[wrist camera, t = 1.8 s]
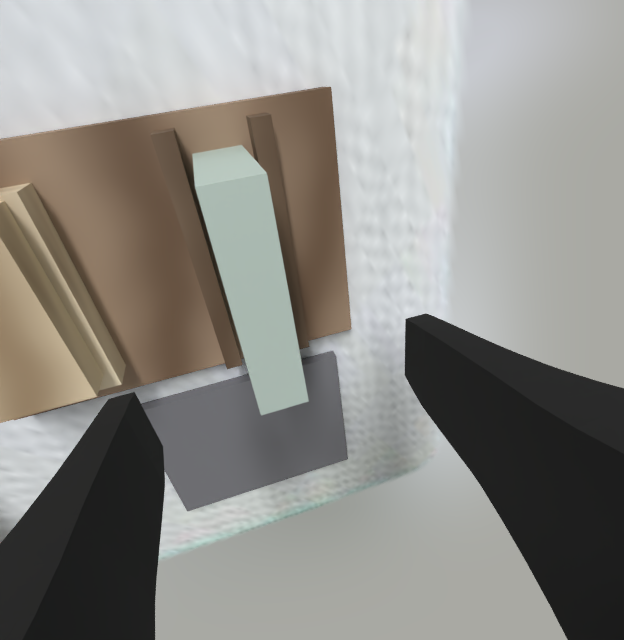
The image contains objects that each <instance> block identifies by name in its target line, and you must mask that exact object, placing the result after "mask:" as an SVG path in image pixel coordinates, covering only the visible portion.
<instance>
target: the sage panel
mask: <svg viewBox="0 0 624 640" xmlns="http://www.w3.org/2000/svg"><path fill="white" fill-rule="evenodd" d="M192 155H193V168H194V181H195V189H196V192H197V196H198V199H199V203H200V206H201V210H202V213H203V217H204V220H205V224H206V227H207V230H208V234H209V237H210V241H211V244H212V248H213V251H214V255H215V258H216V262H217V265H218V269H219V272H220V275H221V279H222V282H223V286H224V289H225V293H226V296H227V300H228V303H229V307H230V310H231V314H232V317H233V320H234V324H235V327H236V331H237V334H238V338H239V341H240V345H241V348H242V352H243V355H244V359H245V362H246V365H247V369H248V372H249V376H250V379H251V383H252V386H253V390H254V393H255V397H256V400H257V404H258V407H259V410H260V414H261V415H265V414H268V413H271V412H275V411H278V410H281V409H285V408H288V407H292V406H295V405H298V404H302V403H305V402H308V401H309V400H308V395H307V389H306V384H305V378H304V373H303V367H302V362H301V356H300V351H299V345H298V340H297V334H296V329H295V324H294V318H293V313H292V307H291V302H290V296H289V291H288V285H287V280H286V274H285V269H284V263H283V258H282V253H281V247H280V242H279V236H278V231H277V225H276V220H275V214H274V209H273V203H272V198H271V192H270V187H269V181H268V176H267V173H266V171H265V170H264V169H263V168H262V167H261V166H260V165H259V164H258V162H257V161H256V160H255V159H254V158H253V157H252V156H251V155H250V154H249V152H248V151H247V150H246V149H245V148H244V147H243V146H242V145H238V146H232V147H227V148H221V149H216V150H210V151H205V152H199V153H194V154H192Z"/></svg>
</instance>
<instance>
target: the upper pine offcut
mask: <svg viewBox="0 0 624 640" xmlns="http://www.w3.org/2000/svg"><path fill="white" fill-rule="evenodd" d="M102 378H103V373H102V371H101V369H100V368H99V366H98V364H97V362H96V361H95V359H94V357H93V355H92V354H91V352H90V350H89V348H88V347H87V345H86V343H85V341H84V340H83V338H82V336H81V334H80V333H79V331H78V329H77V327H76V326H75V324H74V322H73V320H72V319H71V317H70V315H69V313H68V312H67V310H66V308H65V306H64V305H63V303H62V301H61V299H60V298H59V296H58V294H57V292H56V291H55V289H54V287H53V285H52V284H51V282H50V280H49V278H48V277H47V275H46V273H45V271H44V270H43V268H42V266H41V264H40V263H39V261H38V259H37V257H36V256H35V254H34V252H33V250H32V249H31V247H30V245H29V243H28V242H27V240H26V238H25V236H24V235H23V233H22V231H21V229H20V228H19V226H18V224H17V222H16V221H15V219H14V217H13V215H12V214H11V212H10V210H9V208H8V207H7V205H6V203H5V201H1V202H0V423H2V422H6V421H9V420H13V419H17V418H20V417H24V416H28V415H31V414H35V413H39V412H43V411H46V410H50V409H54V408H57V407H61V406H65V405H68V404H72V403H76V402H80V401H83V400H87V399H91V398H94V397H97V396H98V392H99V389H100V385H101V382H102Z"/></svg>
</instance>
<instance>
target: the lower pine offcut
mask: <svg viewBox="0 0 624 640" xmlns="http://www.w3.org/2000/svg"><path fill="white" fill-rule="evenodd" d="M1 201H5V203H6V205H7V207H8V208H9V210H10V212H11V214H12V215H13V217H14V219H15V221H16V222H17V224H18V226H19V228H20V229H21V231H22V233H23V235H24V236H25V238H26V240H27V242H28V243H29V245H30V247H31V249H32V250H33V252H34V254H35V256H36V257H37V259H38V261H39V263H40V264H41V266H42V268H43V270H44V271H45V273H46V275H47V277H48V278H49V280H50V282H51V284H52V285H53V287H54V289H55V291H56V292H57V294H58V296H59V298H60V299H61V301H62V303H63V305H64V306H65V308H66V310H67V312H68V313H69V315H70V317H71V319H72V320H73V322H74V324H75V326H76V327H77V329H78V331H79V333H80V334H81V336H82V338H83V340H84V341H85V343H86V345H87V347H88V348H89V350H90V352H91V354H92V355H93V357H94V359H95V361H96V362H97V364H98V366H99V368H100V369H101V371H102V373H103V378H102V382H101V385H100V389H99V390H103V389H107V388H111V387H114V386H118V385H122V381H123V377H124V372H125V367H126V364H125V363H124V361H123V359H122V357H121V355H120V353H119V351H118V349H117V347H116V345H115V343H114V341H113V339H112V337H111V336H110V334H109V332H108V330H107V328H106V326H105V324H104V322H103V320H102V318H101V316H100V314H99V312H98V310H97V308H96V307H95V305H94V303H93V301H92V299H91V297H90V295H89V293H88V291H87V289H86V287H85V285H84V283H83V281H82V280H81V278H80V276H79V274H78V272H77V270H76V268H75V266H74V264H73V262H72V260H71V258H70V256H69V254H68V253H67V251H66V249H65V247H64V245H63V243H62V241H61V239H60V237H59V235H58V233H57V231H56V229H55V227H54V226H53V224H52V222H51V220H50V218H49V216H48V214H47V212H46V210H45V208H44V206H43V204H42V202H41V200H40V198H39V197H38V195H37V193H36V191H35V189H34V187H33V185H32V183H27V184H22V185H16V186H11V187H5V188H0V202H1Z"/></svg>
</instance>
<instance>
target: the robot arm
mask: <svg viewBox="0 0 624 640" xmlns="http://www.w3.org/2000/svg"><path fill="white" fill-rule="evenodd" d="M405 376H406V378H407V380H408V382H409V384H410V386H411V387H412V389H413V391H414V393H415V395H416V396H417V398H418V400H419V401H420V403H421V405H422V406H423V408H424V409H425V410H426V412H427V413H428V415H429V416H430V417H431V419H432V420H433V421H434V423H435V424H436V425H437V427H438V428H439V429H440V431H441V432H442V433H443V435H444V436H445V437H446V439H447V440H448V441H449V443H450V444H451V445H452V447H453V448H454V449H455V451H456V452H457V453H458V455H459V456H460V457H461V459H462V460H463V461H464V462H465V464H466V465H467V467H468V468H469V469H470V471H471V472H472V473H473V475H474V476H475V478H476V479H477V480H478V482H479V484H480V485H481V486H482V488H483V490H484V491H485V493H486V495H487V496H488V498H489V499H490V501H491V503H492V504H493V506H494V508H495V509H496V511H497V513H498V514H499V516H500V517H501V519H502V521H503V522H504V524H505V526H506V528H507V529H508V531H509V533H510V535H511V536H512V538H513V540H514V541H515V543H516V545H517V547H518V548H519V550H520V552H521V553H522V555H523V557H524V559H525V560H526V562H527V564H528V566H529V568H530V570H531V571H532V573H533V575H534V577H535V579H536V580H537V582H538V584H539V586H540V588H541V590H542V591H543V593H544V595H545V597H546V599H547V601H548V602H549V604H550V606H551V608H552V610H553V612H554V614H555V616H556V618H557V620H558V622H559V624H560V626H561V627H562V629H563V631H564V633H565V635H566V637H567V639H568V640H624V388H620V387H616V386H613V385H609V384H606V383H602V382H599V381H595V380H592V379H589V378H586V377H583V376H579V375H576V374H573V373H570V372H567V371H564V370H561V369H558V368H555V367H552V366H549V365H546V364H543V363H541V362H538V361H536V360H533V359H531V358H528V357H526V356H523V355H520V354H518V353H515V352H513V351H511V350H508V349H505V348H503V347H501V346H499V345H496V344H494V343H492V342H489V341H487V340H485V339H483V338H480V337H478V336H476V335H474V334H472V333H469V332H467V331H465V330H463V329H461V328H458V327H456V326H454V325H452V324H450V323H447V322H445V321H443V320H441V319H438V318H436V317H434V316H431V315H429V314H422V315H419V316H415V317H411V318H408V319H406V332H405ZM164 488H165V475H164V452H163V445H162V443H161V441H160V439H159V437H158V436H157V434H156V432H155V430H154V428H153V426H152V424H151V422H150V420H149V418H148V417H147V415H146V413H145V411H144V409H143V407H142V405H141V403H140V401H139V399H138V398H137V396H136V394H135V392H133V393H130V394H126V395H122V396H119V397H115V398H111V399H109V400H108V401H107V402H106V404H105V405H104V406H103V408H102V409H101V410H100V412H99V413H98V415H97V416H96V418H95V419H94V421H93V422H92V423H91V425H90V426H89V428H88V429H87V431H86V432H85V434H84V435H83V436H82V438H81V439H80V441H79V442H78V444H77V445H76V446H75V448H74V449H73V451H72V452H71V453H70V455H69V456H68V458H67V459H66V460H65V462H64V463H63V465H62V466H61V467H60V469H59V470H58V472H57V473H56V474H55V476H54V477H53V478H52V480H51V481H50V482H49V483H48V485H47V486H46V487H45V489H44V490H43V491H42V492H41V494H40V495H39V496H38V498H37V499H36V500H35V501H34V503H33V504H32V505H31V507H30V508H29V509H28V510H27V512H26V513H25V514H24V516H23V517H22V518H21V519H20V521H19V522H18V523H17V524H16V526H15V527H14V528H13V529H12V530H11V532H10V533H9V534H8V535H7V536H6V538H5V539H4V540H3V541H2V542H1V543H0V640H155V591H156V576H157V566H158V555H159V544H160V534H161V523H162V512H163V501H164Z"/></svg>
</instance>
